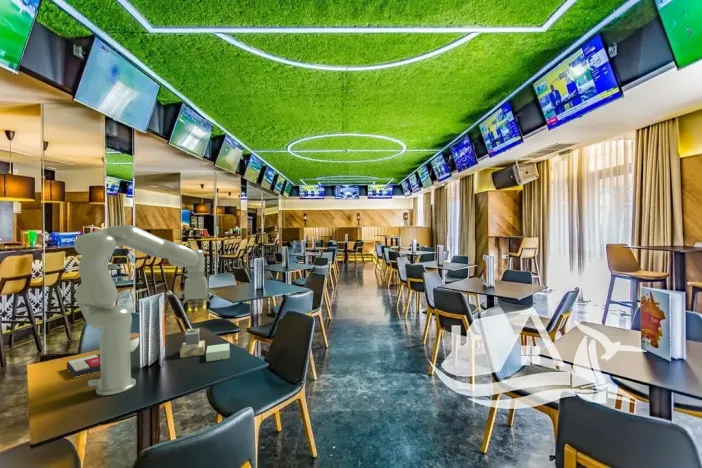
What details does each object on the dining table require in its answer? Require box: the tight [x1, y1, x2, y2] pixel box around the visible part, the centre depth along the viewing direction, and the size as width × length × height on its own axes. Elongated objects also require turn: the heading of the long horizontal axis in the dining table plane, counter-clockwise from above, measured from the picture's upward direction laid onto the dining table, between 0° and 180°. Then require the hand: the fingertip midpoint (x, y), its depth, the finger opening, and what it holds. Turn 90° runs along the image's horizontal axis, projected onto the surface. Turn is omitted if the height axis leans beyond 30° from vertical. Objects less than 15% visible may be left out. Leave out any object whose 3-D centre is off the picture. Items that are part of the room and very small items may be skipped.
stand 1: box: [179, 339, 206, 359], centre depth 166 cm, size 10×10×4 cm
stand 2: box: [205, 342, 230, 363], centre depth 160 cm, size 10×10×4 cm
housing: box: [184, 327, 201, 348], centre depth 166 cm, size 6×6×8 cm
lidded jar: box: [130, 332, 140, 353], centre depth 170 cm, size 11×11×9 cm
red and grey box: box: [66, 354, 101, 377], centre depth 148 cm, size 11×4×15 cm
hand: (197, 310), depth 163 cm, fingers open, 9 cm apart
